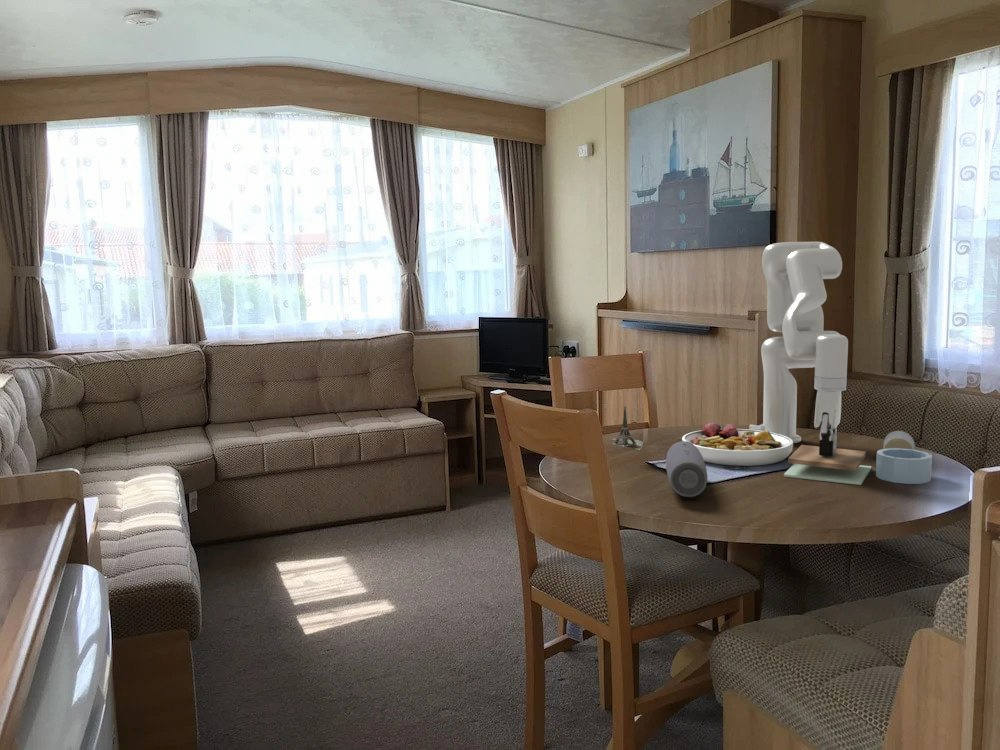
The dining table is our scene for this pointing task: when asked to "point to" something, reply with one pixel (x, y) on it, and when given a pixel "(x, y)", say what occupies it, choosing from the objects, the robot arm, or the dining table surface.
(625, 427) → the eiffel tower figurine
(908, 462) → the slate bowl
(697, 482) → the bluetooth speaker
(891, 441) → the ceramic mug
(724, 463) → the bowl
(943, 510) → the dining table surface
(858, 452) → the walnut lid
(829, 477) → the green mat
